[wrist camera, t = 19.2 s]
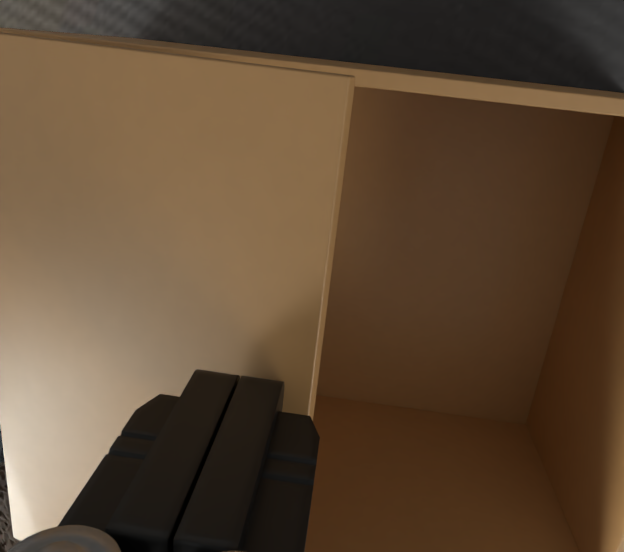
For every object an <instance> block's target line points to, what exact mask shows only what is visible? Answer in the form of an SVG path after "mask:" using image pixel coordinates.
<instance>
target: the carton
mask: <svg viewBox="0 0 624 552" xmlns="http://www.w3.org/2000/svg"><path fill="white" fill-rule="evenodd" d="M0 32H3V33H11V34H19V35H27V36H35V37H44V38H52V39H60V40H68V41H76V42H84V43H92V44H100V45H108V46H117V47H125V48H133V49H141V50H149V51H157V52H165V53H173V54H182V55H190V56H198V57H206V58H214V59H222V60H230V61H238V62H246V63H255V64H263V65H271V66H279V67H287V68H295V69H303V70H311V71H320V72H328V73H336V74H344V75H352V76H355V87H354V95H353V103H352V111H351V119H350V127H349V135H348V143H347V151H346V159H345V167H344V175H343V183H342V191H341V199H340V207H339V215H338V223H337V231H336V239H335V247H334V255H333V263H332V271H331V279H330V287H329V295H328V304H327V312H326V320H325V328H324V336H323V344H322V352H321V360H320V368H319V376H318V384H317V392H316V400H315V408H314V416H313V423H314V426H315V428H316V430H317V432H318V434H319V436H320V441H319V448H318V456H317V463H316V471H315V478H314V486H313V493H312V501H311V508H310V516H309V523H308V530H307V537H306V545H305V552H624V93H620V92H611V91H602V90H593V89H584V88H575V87H566V86H557V85H548V84H539V83H530V82H521V81H513V80H504V79H495V78H486V77H477V76H468V75H459V74H450V73H441V72H432V71H423V70H414V69H406V68H397V67H388V66H379V65H370V64H361V63H352V62H343V61H334V60H325V59H316V58H307V57H299V56H290V55H281V54H272V53H263V52H254V51H245V50H236V49H227V48H218V47H209V46H201V45H192V44H183V43H174V42H165V41H156V40H147V39H138V38H127V37H115V36H102V35H89V34H77V33H64V32H51V31H38V30H26V29H13V28H0Z"/></svg>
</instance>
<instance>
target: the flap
mask: <svg viewBox="0 0 624 552" xmlns="http://www.w3.org/2000/svg"><path fill="white" fill-rule="evenodd" d="M354 87H355V76H352V75H344V74H336V73H328V72H320V71H311V70H303V69H295V68H287V67H279V66H271V65H263V64H255V63H246V62H238V61H230V60H222V59H214V58H206V57H198V56H190V55H182V54H173V53H165V52H157V51H149V50H141V49H133V48H125V47H117V46H108V45H100V44H92V43H84V42H76V41H68V40H60V39H52V38H44V37H35V36H27V35H19V34H11V33H3V32H0V425H1V434H2V443H3V451H4V460H5V469H6V477H7V486H8V495H9V503H10V512H11V521H12V529H13V537H14V538H16V539H18V540H20V541H22V540H23V539H25V538H27V537H29V536H31V535H33V534H35V533H37V532H40V531H43V530H46V529H49V528H53V527H57V526H58V525H59V523H60V522H61V520H62V519H63V517H64V516H65V514H66V513H67V511H68V510H69V508H70V507H71V506H72V504H73V503H74V501H75V500H76V498H77V497H78V495H79V494H80V492H81V491H82V489H83V488H84V486H85V485H86V483H87V482H88V480H89V479H90V477H91V476H92V474H93V473H94V471H95V470H96V468H97V467H98V465H99V464H100V462H101V461H102V459H103V458H104V456H105V455H106V454H108V453H109V449H110V447H111V446H112V444H113V443H114V441H115V440H116V438H117V437H118V436H120V435H121V431H122V430H123V428H124V427H125V425H126V424H127V422H128V421H129V419H130V418H131V416H132V415H133V413H134V412H135V410H136V409H138V408H139V407H141V406H142V405H144V404H145V403H147V402H148V401H150V400H151V399H153V398H154V397H156V396H157V395H159V394H164V395H171V396H178V397H180V396H181V394H182V392H183V390H184V389H185V387H186V385H187V383H188V381H189V380H190V378H191V376H192V374H193V373H194V371H195V370H196V369H200V370H207V371H214V372H221V373H228V374H234V375H239V376H240V378H241V376H249V377H256V378H263V379H270V380H277V381H284V398H283V408H282V412H287V413H294V414H301V415H307V416H310V417H311V419H312V421H313V416H314V408H315V400H316V392H317V384H318V376H319V368H320V360H321V352H322V344H323V336H324V328H325V320H326V312H327V304H328V295H329V287H330V279H331V271H332V263H333V255H334V247H335V239H336V231H337V223H338V215H339V207H340V199H341V191H342V183H343V175H344V167H345V159H346V151H347V143H348V135H349V127H350V119H351V111H352V103H353V95H354Z"/></svg>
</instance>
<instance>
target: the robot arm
mask: <svg viewBox="0 0 624 552" xmlns="http://www.w3.org/2000/svg"><path fill="white" fill-rule="evenodd" d="M283 398H284V381H277V380H270V379H263V378H256V377H249V376H241V378H240V376H239V375H234V374H228V373H221V372H214V371H207V370H200V369H196V370H195V371H194V373H193V374H192V376H191V378H190V380H189V381H188V383H187V385H186V387H185V389H184V390H183V392H182V394H181V396H180V397H178V396H171V395H164V394H159V395H157V396H156V397H154V398H153V399H151V400H150V401H148V402H147V403H145V404H144V405H142V406H141V407H139V408H138V409H136V410H135V412H134V413H133V415H132V416H131V418H130V419H129V421H128V422H127V424H126V425H125V427H124V428H123V430H122V431H121V435H120V436H118V437H117V438H116V440H115V441H114V443H113V444H112V446H111V447H110V449H109V453H108V454H106V455H105V456H104V458H103V459H102V461H101V462H100V464H99V465H98V467H97V468H96V470H95V471H94V473H93V474H92V476H91V477H90V479H89V480H88V482H87V483H86V485H85V486H84V488H83V489H82V491H81V492H80V494H79V495H78V497H77V498H76V500H75V501H74V503H73V504H72V506H71V507H70V508H69V510H68V511H67V513H66V514H65V516H64V517H63V519H62V520H61V522H60V523H59V525H58V526H57V527H53V528H49V529H46V530H43V531H40V532H37V533H35V534H33V535H31V536H29V537H27V538H25V539H23V540H22V541H20V542H19V543H17V544H16V545H14V546H13V547H12V548H11V549H9V550H8V551H7V552H305V545H306V537H307V530H308V523H309V516H310V508H311V501H312V493H313V486H314V478H315V471H316V463H317V456H318V448H319V441H320V436H319V434H318V432H317V430H316V428H315V426H314V423H313V421H312V419H311V417H310V416H307V415H301V414H294V413H287V412H282V408H283Z"/></svg>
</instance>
